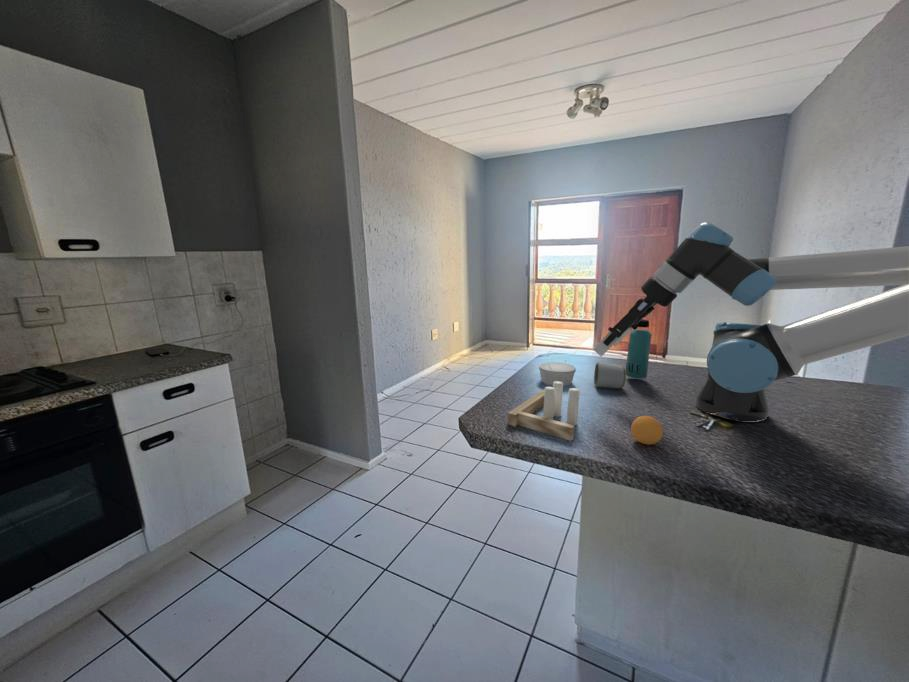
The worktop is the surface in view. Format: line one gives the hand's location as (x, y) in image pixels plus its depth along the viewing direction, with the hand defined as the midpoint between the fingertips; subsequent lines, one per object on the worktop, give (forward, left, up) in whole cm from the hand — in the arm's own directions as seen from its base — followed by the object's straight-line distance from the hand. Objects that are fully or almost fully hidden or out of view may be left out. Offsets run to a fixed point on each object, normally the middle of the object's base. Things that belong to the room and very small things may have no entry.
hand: (604, 347), depth 99 cm
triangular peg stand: (+6, +19, -15) cm, 25 cm away
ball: (-15, +19, -12) cm, 27 cm away
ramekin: (+16, -8, -16) cm, 24 cm away
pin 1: (+6, +21, -15) cm, 27 cm away
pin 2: (+6, +16, -15) cm, 23 cm away
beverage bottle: (-4, -26, -16) cm, 30 cm away
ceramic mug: (+2, -15, -16) cm, 21 cm away
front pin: (+1, +18, -15) cm, 24 cm away
